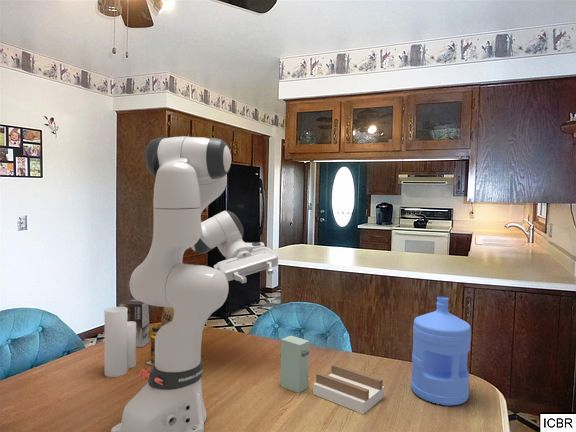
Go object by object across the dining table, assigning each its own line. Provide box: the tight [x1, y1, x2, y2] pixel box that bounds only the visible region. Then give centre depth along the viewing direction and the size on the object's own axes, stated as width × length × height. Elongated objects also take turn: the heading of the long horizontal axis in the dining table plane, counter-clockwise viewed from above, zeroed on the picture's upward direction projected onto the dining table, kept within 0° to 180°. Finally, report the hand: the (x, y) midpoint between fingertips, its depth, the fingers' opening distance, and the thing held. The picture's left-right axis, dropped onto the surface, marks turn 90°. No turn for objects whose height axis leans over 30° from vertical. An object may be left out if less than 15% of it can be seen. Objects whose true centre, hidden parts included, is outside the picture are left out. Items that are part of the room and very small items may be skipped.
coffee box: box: [118, 298, 151, 348], centre depth 150 cm, size 9×6×16 cm
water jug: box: [410, 296, 472, 406], centre depth 116 cm, size 16×16×28 cm
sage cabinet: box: [279, 335, 310, 394], centre depth 118 cm, size 4×8×14 cm, turn 51°
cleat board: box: [312, 363, 385, 415], centre depth 114 cm, size 12×16×6 cm
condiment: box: [146, 323, 164, 366], centre depth 135 cm, size 7×8×12 cm
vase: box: [103, 306, 137, 378], centre depth 128 cm, size 11×7×20 cm, turn 174°
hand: (258, 276), depth 126 cm, fingers open, 8 cm apart
